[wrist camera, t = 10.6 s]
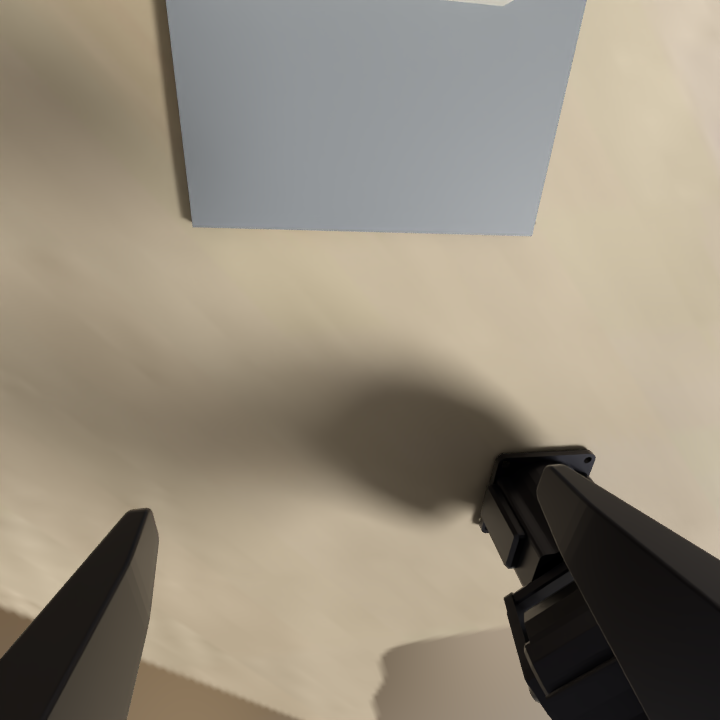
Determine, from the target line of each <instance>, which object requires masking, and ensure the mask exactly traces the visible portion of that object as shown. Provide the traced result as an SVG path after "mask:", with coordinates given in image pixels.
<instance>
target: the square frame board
mask: <svg viewBox="0 0 720 720" xmlns="http://www.w3.org/2000/svg"><path fill="white" fill-rule="evenodd" d="M586 1H587V0H166V7H167V15H168V24H169V32H170V40H171V49H172V57H173V65H174V74H175V82H176V91H177V99H178V107H179V116H180V124H181V132H182V141H183V149H184V158H185V166H186V174H187V183H188V191H189V199H190V208H191V216H192V225H193V227H208V228H245V229H283V230H320V231H358V232H395V233H432V234H470V235H507V236H532V233H533V229H534V225H535V220H536V216H537V212H538V208H539V203H540V199H541V195H542V190H543V186H544V182H545V177H546V173H547V169H548V164H549V160H550V156H551V152H552V147H553V143H554V139H555V134H556V130H557V126H558V121H559V117H560V113H561V108H562V104H563V100H564V96H565V91H566V87H567V83H568V78H569V74H570V70H571V65H572V61H573V57H574V53H575V48H576V44H577V40H578V35H579V31H580V27H581V22H582V18H583V14H584V9H585V5H586Z"/></svg>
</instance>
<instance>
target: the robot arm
mask: <svg viewBox="0 0 720 720" xmlns="http://www.w3.org/2000/svg"><path fill="white" fill-rule="evenodd" d="M595 458H596V457H595V455H594V454H593V453H592V452H591V451H590V450H571V451H550V452H530V453H509V454H501V455H499V456H498V457H497V458H496V460H495V464H494V468H493V472H492V476H491V480H490V484H489V485H488V487H487V489H486V493H485V497H484V501H483V505H482V509H481V513H480V515H481V519H480V523H479V526H480V528H481V530H482V532H484V533H489V534H490V536H491V538H492V540H493V542H494V544H495V546H496V548H497V551H498V553H499V555H500V557H501V559H502V561H503V563H504V565H505V566H506V567H507V568H508V569H512V568H514V570H515V572H516V574H517V576H518V578H519V580H520V582H521V584H522V586H523V587H522V588H521V589H519V590H518V591H516V592H515V593H512V592H511V593H510V594H508V595H507V596H505V597H504V601H505V605H506V609H507V616H508V619H509V623H510V627H511V630H512V634H513V638H514V641H515V645H516V649H517V652H518V656H519V660H520V663H521V667H522V671H523V674H524V678H525V680H526V682H527V684H528V686H529V691H530V694H531V695H532V697H533V698H534V700H535V701H537V702H538V703H540V704H541V705H542V707H543V708H544V709H545V711H546V712H547V714H548V715H549V716H550V717H551V719H552V720H720V560H719V559H717V558H716V557H714V556H712V555H711V554H709V553H708V552H706V551H704V550H703V549H701V548H699V547H698V546H696V545H695V544H693V543H691V542H690V541H688V540H686V539H685V538H683V537H681V536H680V535H678V534H677V533H675V532H673V531H672V530H670V529H668V528H667V527H665V526H664V525H662V524H660V523H659V522H657V521H655V520H654V519H652V518H650V517H649V516H647V515H646V514H644V513H642V512H641V511H639V510H637V509H636V508H634V507H633V506H631V505H629V504H628V503H626V502H624V501H623V500H621V499H619V498H618V497H616V496H615V495H613V494H611V493H610V492H608V491H606V490H605V489H603V488H602V487H600V486H598V485H597V484H595V483H594V482H593V481H592V480H591V478H590V477H589V474H590V472H591V469H592V467H593V464H594V461H595ZM505 461H506V462H505ZM503 462H505V463H503ZM158 544H159V537H158V531H157V527H156V524H155V520H154V516H153V513H152V511H151V509H149V508H141V509H132V510H129V511H128V512H126V514H125V515H124V516H123V517H122V518H121V519H120V520H119V522H118V523H117V524H116V525H115V526H114V527H113V529H112V530H111V531H110V532H109V533H108V534H107V536H106V537H105V538H104V539H103V540H102V541H101V543H100V544H99V545H98V546H97V547H96V548H95V550H94V551H93V552H92V553H91V554H90V555H89V557H88V558H87V559H86V560H85V561H84V562H83V563H82V565H81V566H80V567H79V568H78V569H77V570H76V572H75V573H74V574H73V575H72V576H71V577H70V579H69V580H68V581H67V582H66V583H65V584H64V586H63V587H62V588H61V589H60V590H59V591H58V593H57V594H56V595H55V596H54V597H53V598H52V600H51V601H50V602H49V603H48V604H47V605H46V607H45V608H44V609H43V610H42V611H41V612H40V614H39V615H38V616H37V617H36V618H35V619H34V620H33V622H32V623H31V624H30V625H29V626H28V628H27V629H26V630H25V631H24V632H23V633H22V634H21V636H20V637H19V638H18V639H17V640H16V641H15V643H14V644H13V645H12V646H11V647H10V649H9V650H8V651H7V652H6V653H5V654H4V655H3V657H2V658H1V659H0V720H127V716H128V711H129V707H130V703H131V698H132V694H133V690H134V685H135V681H136V677H137V673H138V668H139V664H140V660H141V656H142V651H143V647H144V643H145V638H146V634H147V629H148V624H149V619H150V612H151V604H152V596H153V587H154V579H155V570H156V562H157V553H158Z"/></svg>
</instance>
